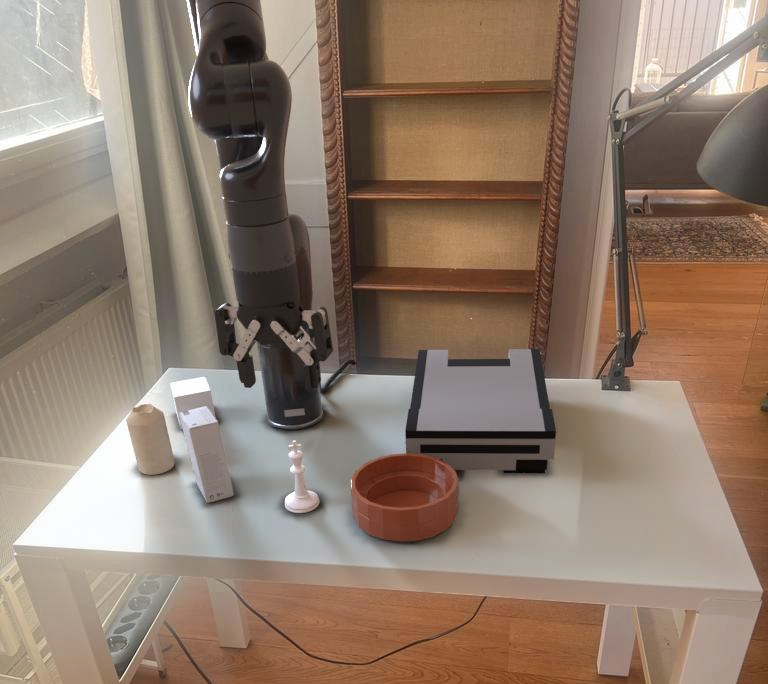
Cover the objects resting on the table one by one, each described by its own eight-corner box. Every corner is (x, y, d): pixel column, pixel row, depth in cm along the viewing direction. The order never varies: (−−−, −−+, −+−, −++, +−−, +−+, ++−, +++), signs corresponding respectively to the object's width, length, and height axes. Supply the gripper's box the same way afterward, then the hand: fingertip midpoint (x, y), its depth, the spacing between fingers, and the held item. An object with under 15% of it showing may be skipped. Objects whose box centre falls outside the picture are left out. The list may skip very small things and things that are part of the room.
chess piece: (285, 495, 113) (276, 434, 107) (319, 492, 113) (312, 431, 107) (284, 514, 108) (275, 451, 103) (319, 511, 109) (312, 448, 103)
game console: (536, 386, 138) (539, 342, 134) (551, 481, 112) (556, 431, 108) (419, 386, 141) (418, 343, 136) (407, 480, 114) (405, 430, 110)
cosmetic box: (235, 496, 113) (221, 421, 106) (205, 504, 112) (189, 429, 105) (223, 476, 118) (209, 404, 111) (194, 484, 116) (178, 411, 109)
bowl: (369, 482, 114) (366, 449, 111) (465, 491, 111) (466, 457, 108) (340, 538, 103) (337, 503, 100) (447, 550, 100) (447, 514, 97)
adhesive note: (211, 408, 138) (205, 376, 134) (216, 422, 133) (210, 390, 129) (176, 414, 136) (169, 382, 133) (180, 429, 131) (173, 396, 128)
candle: (165, 476, 119) (151, 417, 113) (132, 474, 120) (116, 415, 114) (180, 458, 123) (167, 400, 118) (148, 456, 124) (134, 398, 119)
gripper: (331, 251, 92) (343, 379, 101) (221, 248, 96) (242, 372, 105) (309, 271, 86) (323, 404, 95) (193, 267, 90) (217, 396, 99)
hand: (280, 387), depth 100 cm, fingers open, 8 cm apart
